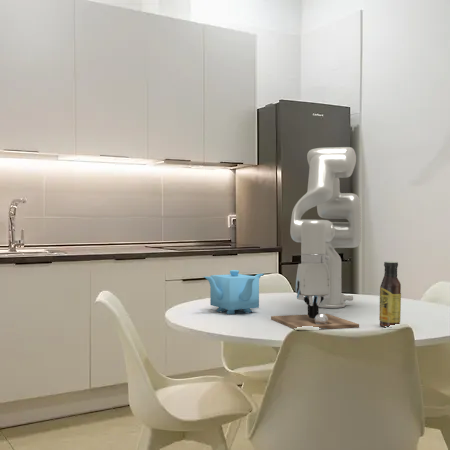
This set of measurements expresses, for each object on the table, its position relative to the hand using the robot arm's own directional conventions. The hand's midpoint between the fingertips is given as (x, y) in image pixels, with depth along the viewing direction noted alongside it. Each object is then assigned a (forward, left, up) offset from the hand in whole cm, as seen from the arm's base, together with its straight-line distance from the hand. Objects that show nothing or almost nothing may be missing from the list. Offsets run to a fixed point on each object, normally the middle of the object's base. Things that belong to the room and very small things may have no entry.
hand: (313, 317), depth 195 cm
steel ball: (0, +6, 0) cm, 6 cm away
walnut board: (0, 0, -2) cm, 2 cm away
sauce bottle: (-20, +12, -2) cm, 24 cm away
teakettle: (+16, -30, -2) cm, 34 cm away
